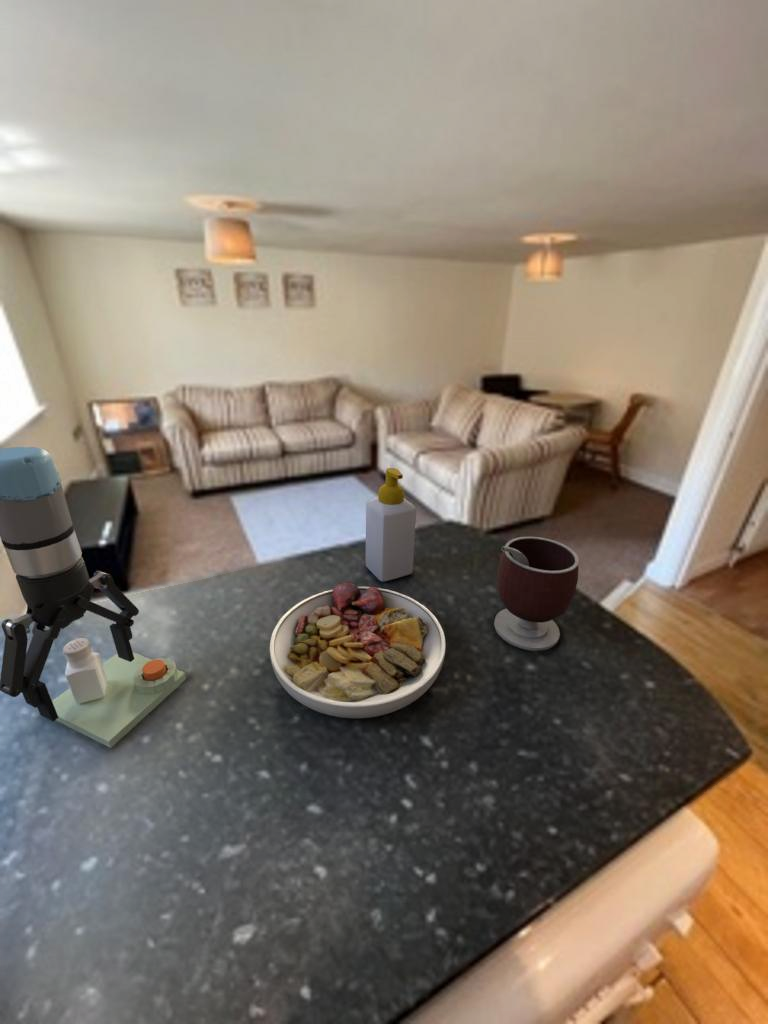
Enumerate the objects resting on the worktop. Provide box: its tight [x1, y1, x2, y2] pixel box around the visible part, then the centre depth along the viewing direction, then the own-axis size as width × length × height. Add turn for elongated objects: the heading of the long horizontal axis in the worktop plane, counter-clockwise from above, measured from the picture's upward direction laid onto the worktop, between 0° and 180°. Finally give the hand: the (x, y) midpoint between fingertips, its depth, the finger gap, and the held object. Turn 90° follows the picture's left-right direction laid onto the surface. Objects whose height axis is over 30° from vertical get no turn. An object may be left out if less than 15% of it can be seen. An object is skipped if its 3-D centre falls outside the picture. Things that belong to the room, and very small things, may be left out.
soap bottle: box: [365, 467, 417, 583], centre depth 101 cm, size 9×9×25 cm
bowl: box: [269, 581, 446, 719], centre depth 78 cm, size 30×30×8 cm
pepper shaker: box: [62, 637, 107, 704], centre depth 67 cm, size 4×4×10 cm
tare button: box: [142, 658, 166, 681], centre depth 71 cm, size 3×3×2 cm
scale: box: [51, 651, 187, 749], centre depth 70 cm, size 14×14×3 cm
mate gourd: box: [493, 536, 580, 652], centre depth 83 cm, size 16×14×20 cm
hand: (91, 685), depth 69 cm, fingers open, 12 cm apart
